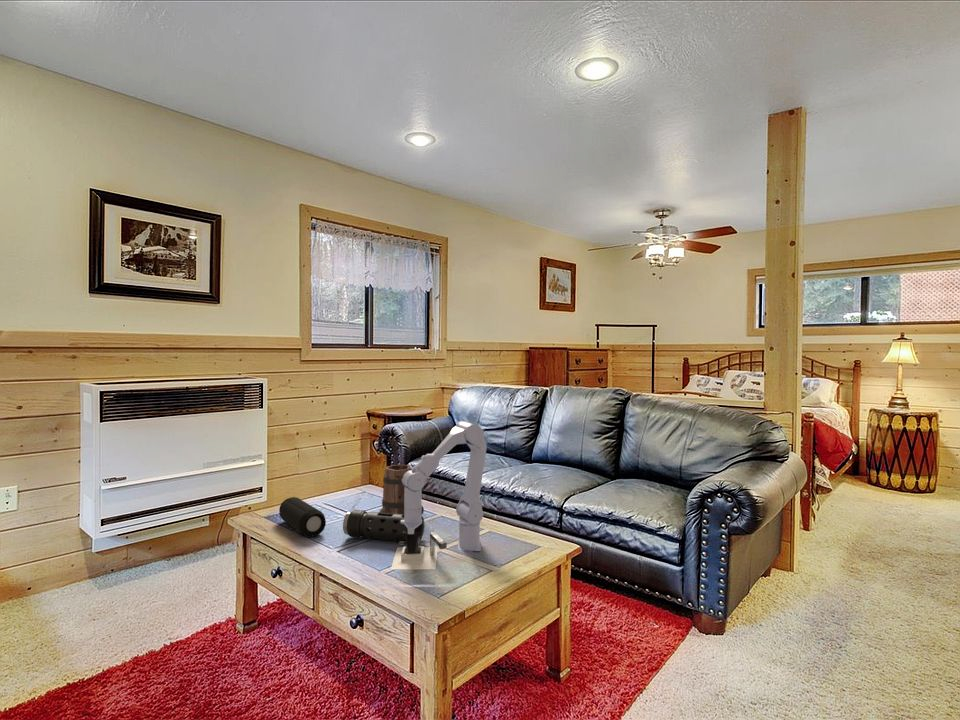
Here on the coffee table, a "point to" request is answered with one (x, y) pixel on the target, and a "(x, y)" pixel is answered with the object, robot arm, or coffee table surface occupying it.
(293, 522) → the portable speaker
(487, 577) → the coffee table surface
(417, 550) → the plug
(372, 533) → the muzzle brake
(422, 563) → the socket base
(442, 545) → the clip
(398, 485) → the tankard
